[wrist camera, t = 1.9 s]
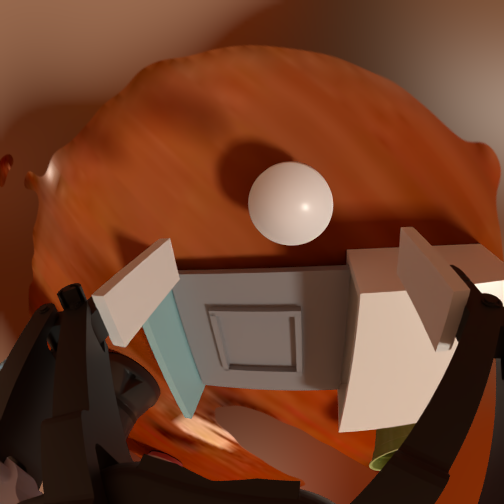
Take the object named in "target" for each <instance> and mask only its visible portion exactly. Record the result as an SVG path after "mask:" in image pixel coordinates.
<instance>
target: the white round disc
mask: <svg viewBox="0 0 504 504" xmlns="http://www.w3.org/2000/svg"><path fill="white" fill-rule="evenodd" d="M248 209H249V214H250V217H251V219H252V221H253V223H254V225H255V226H256V228H257V229H258V230H259V232H260V233H262V234H263V235H264V236H265V237H266V238H268V239H270V240H271V241H273V242H276V243H279V244H283V245H300V244H305V243H307V242H310V241H312V240H314V239H315V238H316V237H318V236H319V235H320V234H321V233H322V232H323V231H324V230H325V229H326V227H327V226H328V224H329V222H330V219H331V216H332V212H333V198H332V194H331V191H330V188H329V186H328V184H327V182H326V181H325V179H324V178H323V176H322V175H321V174H320V173H319V172H318V171H317V170H315V169H314V168H313V167H311V166H309V165H307V164H304V163H301V162H295V161H286V162H281V163H277V164H275V165H272V166H271V167H269V168H268V169H266V170H265V171H264V172H263V173H262V174H260V176H259V177H258V178H257V179H256V180H255V182H254V183H253V185H252V187H251V190H250V193H249V198H248Z"/></svg>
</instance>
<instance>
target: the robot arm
mask: <svg viewBox="0 0 504 504" xmlns="http://www.w3.org/2000/svg"><path fill="white" fill-rule="evenodd" d="M397 275H398V277H399V278H400V280H401V282H402V284H403V286H404V288H405V290H406V291H407V293H408V295H409V297H410V299H411V301H412V303H413V305H414V307H415V309H416V311H417V313H418V315H419V317H420V319H421V321H422V324H423V326H424V328H425V330H426V332H427V334H428V337H429V339H430V341H431V343H432V346H433V348H434V350H435V352H440V351H446V350H451V349H452V346H453V343H454V341H455V338H456V339H457V341H458V345H457V347H456V350H455V352H454V354H453V357H452V359H451V361H450V363H449V365H448V367H447V369H446V371H445V373H444V375H443V377H442V379H441V381H440V383H439V385H438V387H437V389H436V391H435V392H434V394H433V396H432V398H431V400H430V401H429V403H428V405H427V406H426V408H425V410H424V411H423V413H422V415H421V416H420V418H419V420H418V421H417V423H416V424H415V426H414V427H413V429H412V430H411V432H410V433H409V435H408V436H407V438H406V439H405V440H404V442H403V443H402V445H401V446H400V447H399V449H398V450H397V451H396V452H395V453H394V454H393V456H392V457H391V458H390V459H389V461H388V462H387V463H386V464H385V466H384V467H383V468H382V469H381V471H380V472H379V473H378V474H377V475H376V477H375V478H374V479H373V480H372V481H371V482H370V484H368V486H367V487H366V488H365V489H364V490H363V491H362V492H361V493H360V494H359V495H358V496H357V497H356V498H355V499H354V500H353V501H352V502H351V503H350V504H435V502H436V501H437V499H438V498H439V496H440V494H441V493H442V491H443V489H444V488H445V486H446V484H447V482H448V480H449V477H450V475H449V473H448V472H449V470H450V468H451V466H452V464H453V462H454V460H455V458H456V456H457V454H458V452H459V450H460V448H461V446H462V444H463V442H464V440H465V438H466V435H467V433H468V431H469V429H470V427H471V424H472V422H473V419H474V416H475V414H476V412H477V409H478V406H479V404H480V401H481V398H482V395H483V392H484V389H485V386H486V383H487V380H488V377H489V373H490V369H491V366H492V362H493V358H496V407H495V420H494V430H493V438H492V445H491V451H490V457H489V462H488V467H487V472H486V476H485V480H484V484H483V488H482V492H481V495H480V499H479V502H478V504H504V307H503V303H502V301H501V300H500V299H499V298H498V297H496V296H494V295H492V294H488V293H481V292H480V290H479V289H478V288H477V287H476V286H475V285H474V283H473V282H472V281H470V279H469V278H468V277H467V276H466V274H465V273H464V272H463V271H462V270H461V269H459V268H458V267H456V266H454V265H449V264H448V263H447V262H446V261H445V260H444V258H443V257H442V256H441V255H440V254H439V253H438V252H437V251H436V250H435V249H434V248H433V247H432V246H431V245H430V244H429V243H428V241H427V240H426V239H425V238H424V237H423V236H422V235H421V234H420V233H419V232H418V231H417V230H416V229H415V228H414V227H401V229H400V244H399V255H398V265H397ZM179 280H180V278H179V274H178V270H177V266H176V262H175V258H174V253H173V249H172V245H171V241H170V238H167V239H159V240H157V241H156V242H155V243H154V244H152V245H151V246H150V247H149V248H147V249H146V250H145V251H144V252H142V253H141V254H140V255H139V256H137V257H136V258H135V259H134V260H132V261H131V262H130V263H129V264H128V265H126V266H125V267H124V268H123V269H122V270H120V271H119V272H118V273H117V274H116V275H114V276H113V277H112V278H111V279H110V280H109V281H107V282H106V283H105V284H104V285H103V286H102V287H100V288H99V289H98V290H97V291H96V292H95V293H94V294H92V297H90V298H89V299H88V300H87V299H86V297H85V294H84V292H83V289H82V287H81V284H79V283H74V284H70V285H68V286H66V287H64V288H62V289H61V290H60V291H59V292H58V293H57V295H58V298H59V300H60V302H61V305H62V307H63V309H64V311H62V312H57V309H56V307H55V305H54V304H52V303H49V304H44V305H42V306H40V308H39V309H37V310H36V312H35V313H34V314H33V316H32V317H31V319H30V321H29V322H28V324H27V325H26V327H25V328H24V330H23V332H22V333H21V335H20V337H19V338H18V340H17V342H16V343H15V345H14V347H13V349H12V350H11V352H10V354H9V356H8V357H7V359H6V360H4V361H3V362H1V363H0V504H335V503H333V502H332V501H330V500H329V499H327V498H325V497H322V496H320V495H318V494H315V493H312V492H310V491H306V490H302V489H300V481H282V480H268V479H247V480H232V481H211V480H208V479H206V478H204V477H202V476H200V475H198V474H196V473H194V472H192V471H190V470H188V469H186V468H184V467H182V466H180V465H178V464H176V463H173V462H169V461H166V460H162V459H159V458H156V457H152V456H149V455H146V454H144V455H143V457H142V459H141V461H140V462H134V461H133V460H132V458H131V456H130V453H129V450H128V446H127V443H126V439H127V437H128V435H129V433H130V431H131V429H132V428H133V426H134V424H135V422H136V420H137V419H138V418H139V417H140V416H141V415H142V414H143V413H145V412H146V411H147V410H148V409H149V408H150V407H152V406H153V405H154V404H155V403H156V402H157V400H158V398H159V396H160V388H159V386H158V384H157V382H156V381H155V379H154V378H153V377H152V376H151V375H150V374H149V373H148V372H147V371H146V370H145V369H144V368H143V367H142V366H140V365H139V364H137V363H136V362H134V361H133V360H131V359H129V358H127V357H125V356H123V355H120V354H117V353H108V346H107V344H106V342H105V339H106V338H107V336H108V335H109V337H110V339H111V341H112V343H113V345H116V346H121V347H126V346H127V345H128V343H129V342H130V341H131V340H132V338H133V337H134V336H135V334H136V333H137V332H138V331H139V329H140V328H141V327H142V325H143V324H144V323H145V322H146V320H147V319H148V318H149V317H150V315H151V314H152V313H153V312H154V310H155V309H156V308H157V307H158V305H159V304H160V303H161V302H162V300H163V299H164V298H165V297H166V296H167V294H168V293H169V292H170V291H171V289H172V288H173V287H174V286H175V285H176V283H177V282H178V281H179ZM47 341H48V343H49V345H50V347H51V351H50V350H49V348H48V346H47ZM42 480H43V489H44V494H43V493H42V492H40V491H39V488H40V486H41V484H42Z"/></svg>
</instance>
